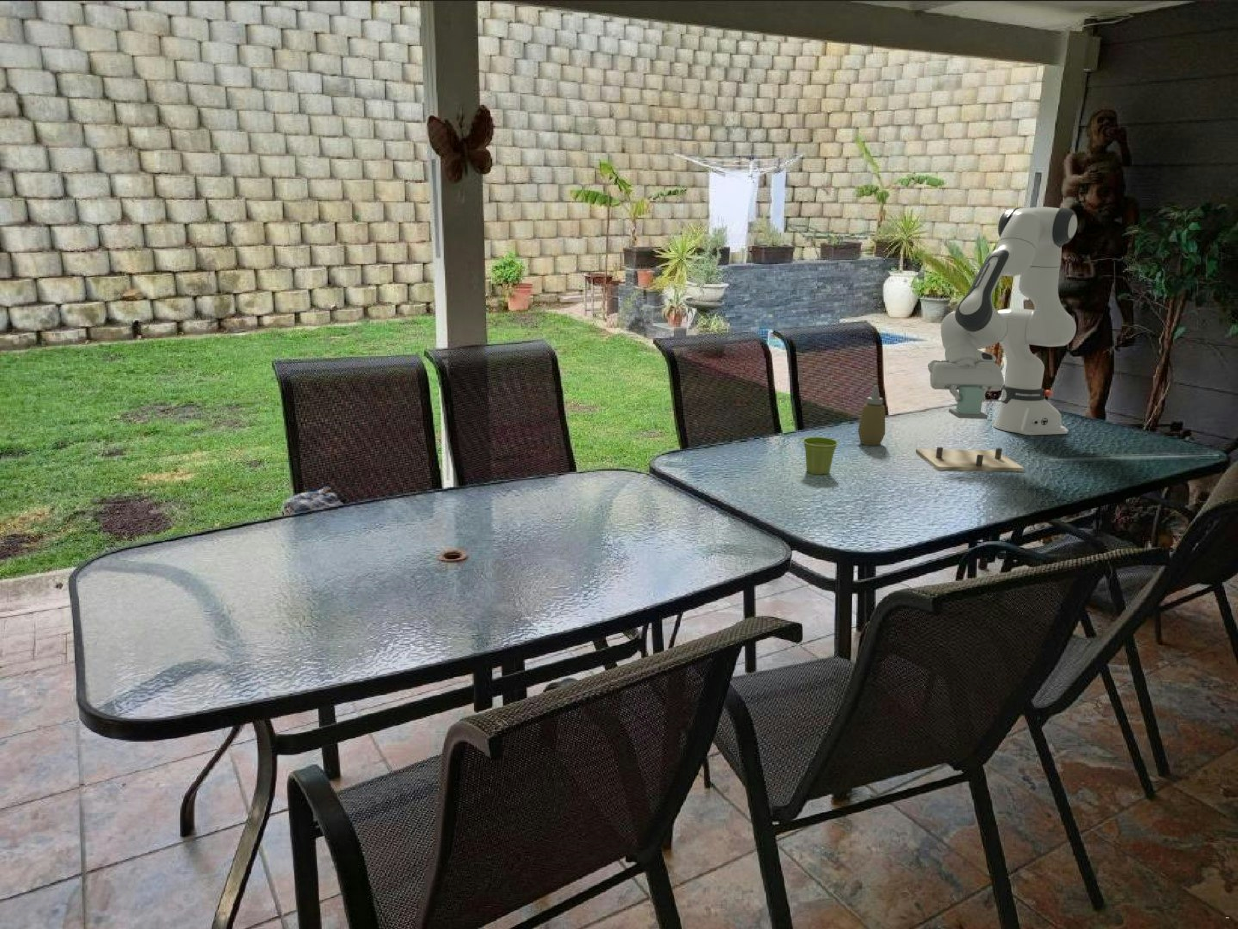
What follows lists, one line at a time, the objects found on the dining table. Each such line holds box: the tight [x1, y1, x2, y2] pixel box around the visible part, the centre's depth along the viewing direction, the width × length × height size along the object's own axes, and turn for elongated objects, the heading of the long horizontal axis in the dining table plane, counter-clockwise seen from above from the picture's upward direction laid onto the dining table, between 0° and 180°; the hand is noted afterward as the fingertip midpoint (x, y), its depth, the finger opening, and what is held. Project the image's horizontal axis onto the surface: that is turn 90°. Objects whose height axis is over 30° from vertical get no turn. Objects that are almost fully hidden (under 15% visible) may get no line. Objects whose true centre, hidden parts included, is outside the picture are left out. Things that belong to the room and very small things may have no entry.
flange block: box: [948, 386, 989, 420], centre depth 246 cm, size 8×8×8 cm
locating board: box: [915, 446, 1025, 472], centre depth 247 cm, size 24×18×4 cm
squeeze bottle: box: [857, 385, 886, 447], centre depth 262 cm, size 8×8×18 cm
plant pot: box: [802, 436, 839, 476], centre depth 235 cm, size 9×9×9 cm
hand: (970, 400), depth 245 cm, fingers closed on flange block, 5 cm apart
